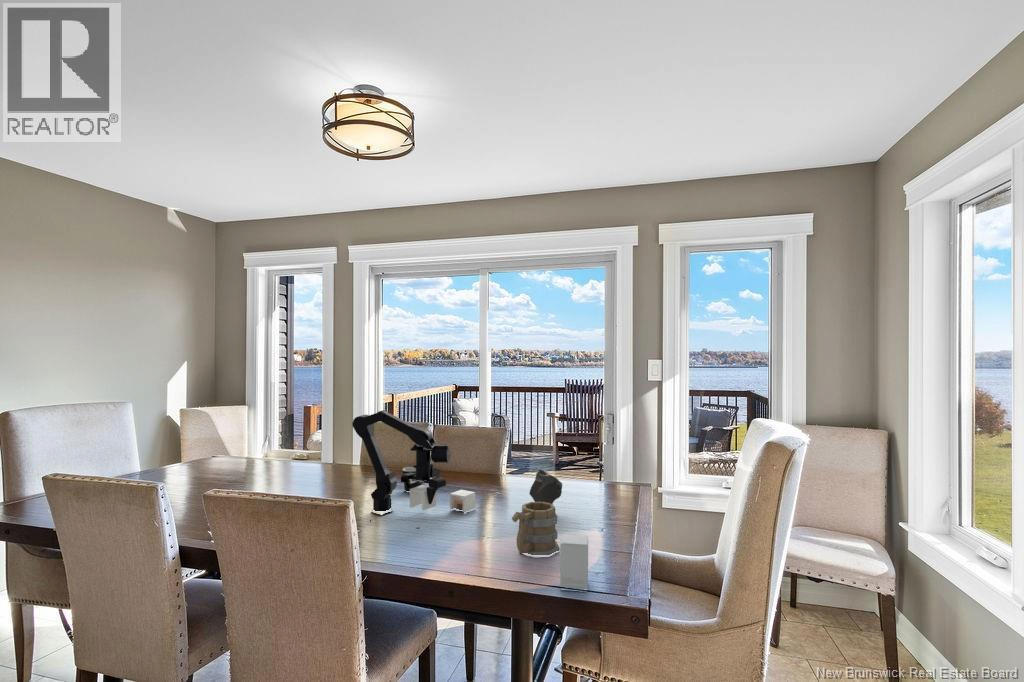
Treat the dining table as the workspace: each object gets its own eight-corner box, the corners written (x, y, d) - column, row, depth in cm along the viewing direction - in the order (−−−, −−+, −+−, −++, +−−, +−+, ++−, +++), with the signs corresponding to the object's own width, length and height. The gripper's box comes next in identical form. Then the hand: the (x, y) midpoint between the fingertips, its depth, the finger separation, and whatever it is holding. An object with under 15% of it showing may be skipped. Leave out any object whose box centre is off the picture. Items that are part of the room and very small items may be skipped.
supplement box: (587, 593, 137) (587, 544, 137) (559, 591, 138) (559, 542, 138) (588, 581, 144) (588, 535, 144) (561, 578, 145) (561, 533, 146)
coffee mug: (400, 490, 237) (400, 468, 237) (418, 488, 240) (419, 466, 241) (406, 496, 226) (406, 473, 226) (425, 494, 230) (425, 471, 230)
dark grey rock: (569, 512, 204) (569, 466, 205) (556, 524, 190) (556, 475, 191) (535, 508, 210) (535, 463, 211) (520, 519, 196) (520, 471, 197)
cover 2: (464, 514, 202) (464, 496, 202) (449, 511, 206) (450, 493, 206) (475, 509, 208) (475, 492, 208) (460, 506, 212) (460, 489, 212)
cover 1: (423, 510, 197) (423, 491, 197) (409, 507, 201) (409, 488, 201) (436, 505, 203) (436, 487, 203) (422, 502, 207) (422, 485, 207)
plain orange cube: (463, 513, 204) (463, 502, 204) (455, 511, 206) (455, 501, 206) (469, 510, 208) (469, 500, 208) (461, 508, 210) (461, 498, 210)
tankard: (534, 540, 175) (534, 495, 175) (566, 549, 167) (566, 502, 167) (495, 558, 160) (495, 509, 160) (528, 569, 152) (528, 517, 152)
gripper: (455, 461, 204) (454, 501, 204) (419, 455, 214) (419, 493, 214) (436, 466, 195) (436, 508, 195) (399, 460, 205) (399, 500, 205)
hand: (422, 502), depth 202 cm, fingers closed on cover 1, 7 cm apart
